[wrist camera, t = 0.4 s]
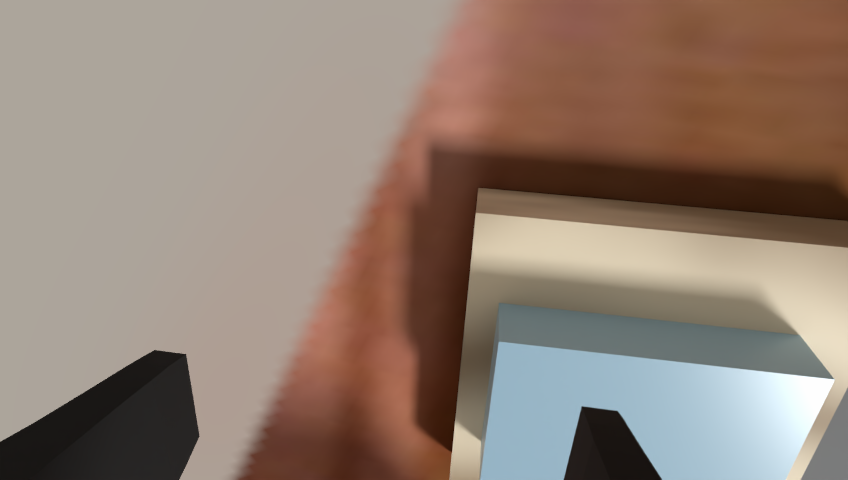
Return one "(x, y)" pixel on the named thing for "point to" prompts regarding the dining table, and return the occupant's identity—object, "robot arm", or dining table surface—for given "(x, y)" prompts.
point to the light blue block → (648, 394)
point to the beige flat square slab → (651, 282)
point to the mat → (832, 448)
